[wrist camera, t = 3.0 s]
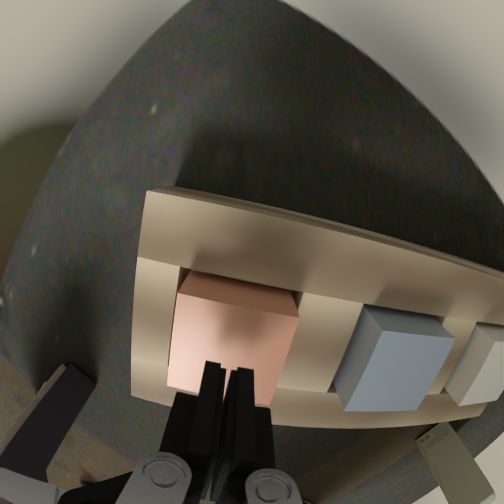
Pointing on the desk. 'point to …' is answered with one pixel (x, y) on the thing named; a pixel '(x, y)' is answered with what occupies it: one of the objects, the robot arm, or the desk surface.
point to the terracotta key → (230, 331)
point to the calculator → (45, 423)
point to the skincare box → (454, 467)
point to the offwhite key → (479, 367)
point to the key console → (302, 297)
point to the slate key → (391, 360)
